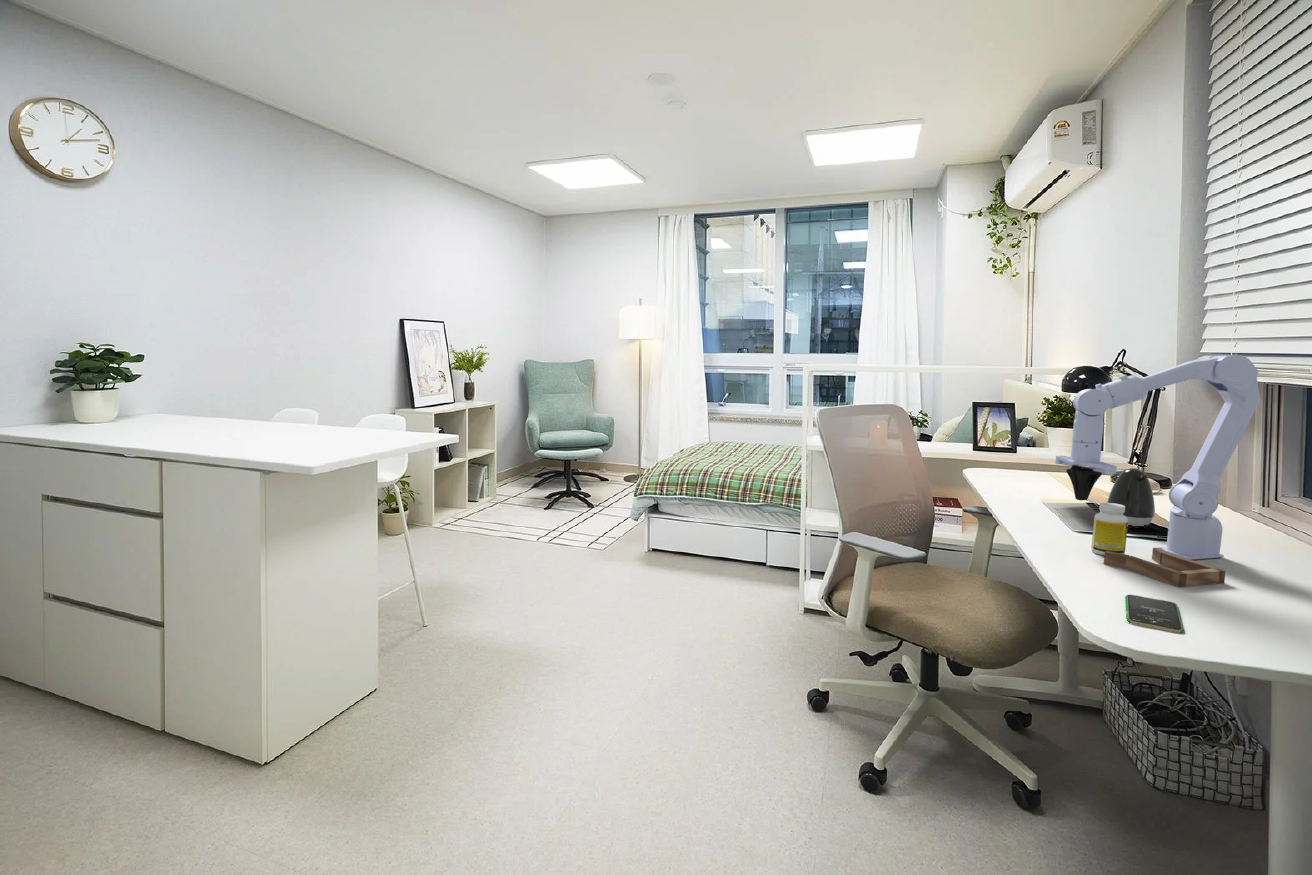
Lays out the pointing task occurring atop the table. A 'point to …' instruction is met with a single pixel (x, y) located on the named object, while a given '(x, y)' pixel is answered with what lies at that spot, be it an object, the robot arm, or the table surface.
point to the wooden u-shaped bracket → (1185, 576)
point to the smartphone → (1153, 613)
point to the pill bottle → (1109, 529)
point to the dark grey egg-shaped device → (1134, 496)
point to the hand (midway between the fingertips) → (1081, 499)
